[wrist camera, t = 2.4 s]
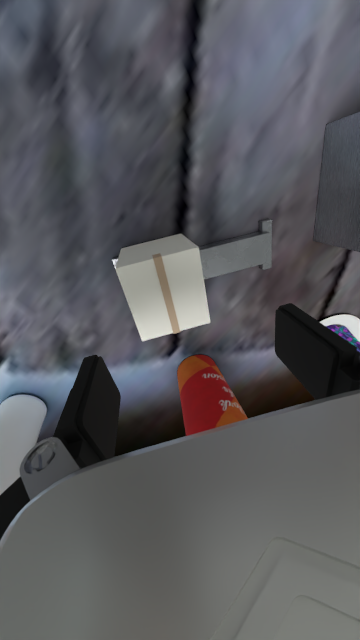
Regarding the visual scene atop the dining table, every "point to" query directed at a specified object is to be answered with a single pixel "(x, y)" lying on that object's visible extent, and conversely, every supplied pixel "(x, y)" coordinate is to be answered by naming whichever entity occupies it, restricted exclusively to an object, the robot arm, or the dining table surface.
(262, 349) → the dining table surface
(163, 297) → the white taped box
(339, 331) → the purple patterned hat
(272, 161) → the dining table surface
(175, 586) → the robot arm
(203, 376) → the paper cup
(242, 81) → the dining table surface
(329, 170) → the cabinet
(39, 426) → the drinking glass
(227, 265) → the rail
